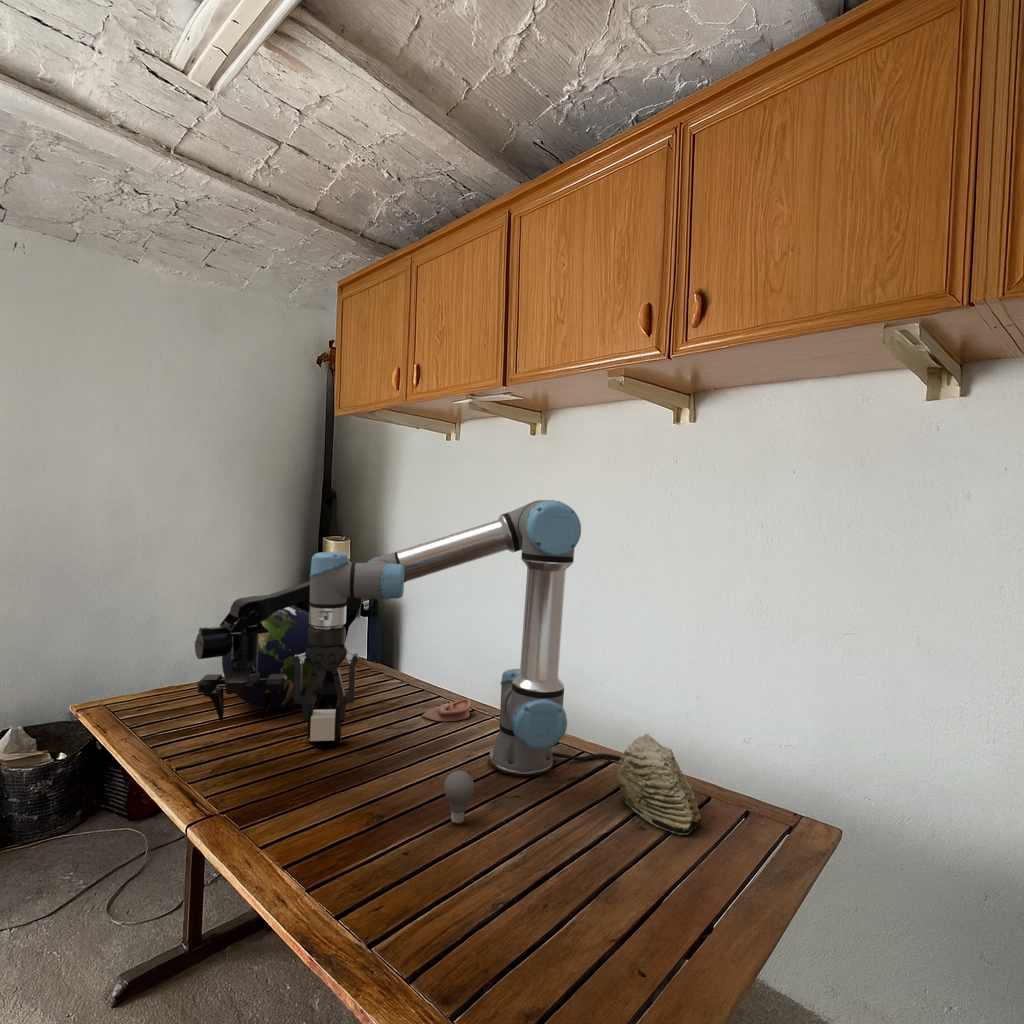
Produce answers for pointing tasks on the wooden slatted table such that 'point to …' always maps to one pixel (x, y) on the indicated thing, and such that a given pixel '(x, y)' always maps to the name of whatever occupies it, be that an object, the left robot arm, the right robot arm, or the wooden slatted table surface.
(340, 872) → the wooden slatted table surface
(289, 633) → the globe
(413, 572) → the right robot arm
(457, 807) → the light bulb
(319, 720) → the block
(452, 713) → the anatomical model
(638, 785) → the fossil
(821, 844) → the wooden slatted table surface
